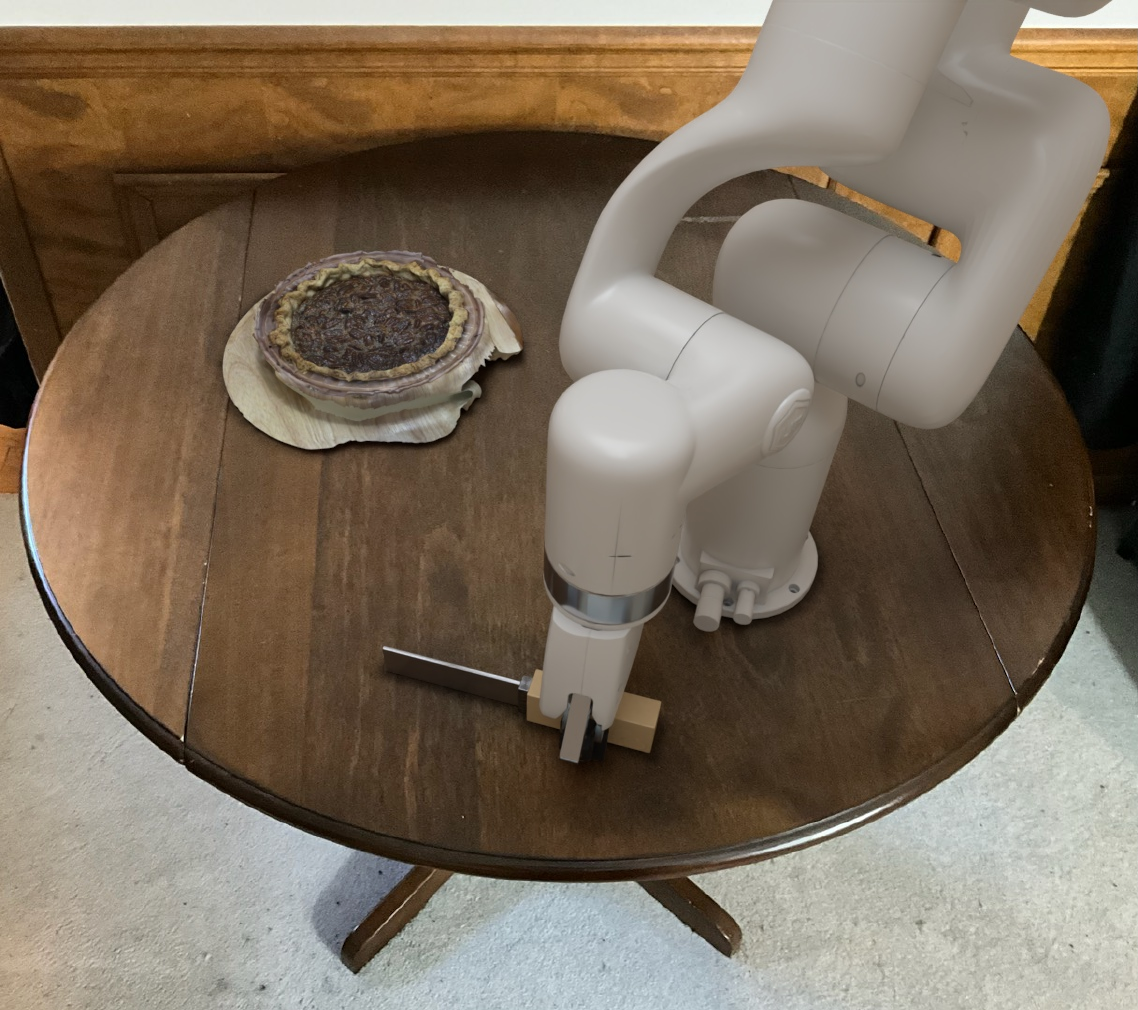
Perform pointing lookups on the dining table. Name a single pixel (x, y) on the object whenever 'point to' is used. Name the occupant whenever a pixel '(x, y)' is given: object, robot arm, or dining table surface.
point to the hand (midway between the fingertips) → (591, 718)
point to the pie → (366, 350)
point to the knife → (527, 695)
